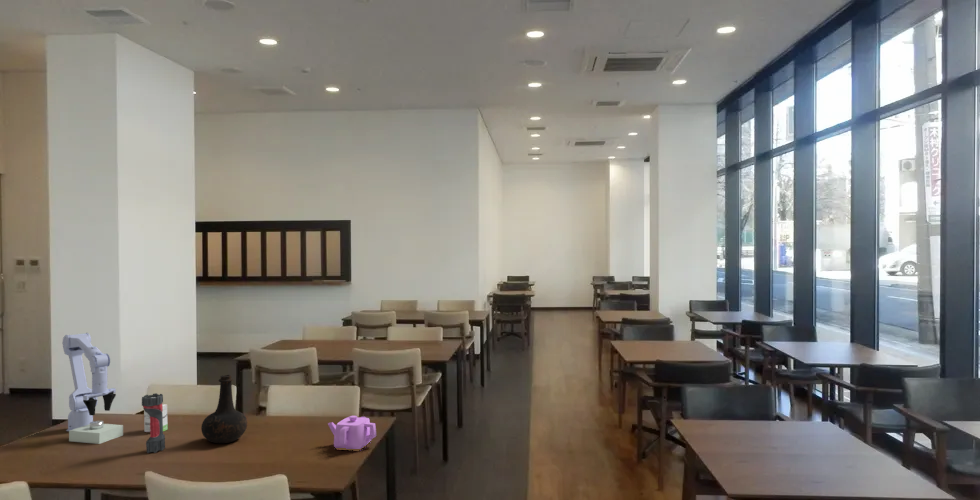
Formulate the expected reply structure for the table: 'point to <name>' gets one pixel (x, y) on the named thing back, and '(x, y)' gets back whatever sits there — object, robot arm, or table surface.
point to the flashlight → (154, 422)
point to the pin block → (96, 433)
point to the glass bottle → (224, 417)
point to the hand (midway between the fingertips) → (99, 412)
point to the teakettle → (353, 432)
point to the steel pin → (96, 425)
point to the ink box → (147, 419)
